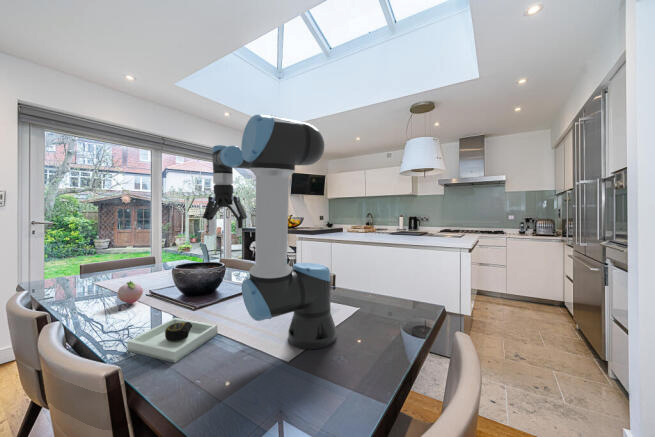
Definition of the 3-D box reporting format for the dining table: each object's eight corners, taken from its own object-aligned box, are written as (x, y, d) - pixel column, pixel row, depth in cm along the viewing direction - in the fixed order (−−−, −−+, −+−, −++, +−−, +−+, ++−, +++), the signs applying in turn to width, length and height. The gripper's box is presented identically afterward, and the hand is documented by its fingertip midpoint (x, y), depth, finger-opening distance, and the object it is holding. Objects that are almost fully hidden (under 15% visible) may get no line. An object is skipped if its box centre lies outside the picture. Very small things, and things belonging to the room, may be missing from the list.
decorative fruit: (114, 305, 110) (113, 281, 110) (137, 298, 117) (136, 276, 116) (123, 310, 105) (121, 285, 104) (146, 303, 112) (145, 280, 111)
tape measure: (187, 341, 79) (187, 329, 79) (162, 345, 77) (161, 333, 77) (192, 331, 86) (192, 320, 86) (169, 334, 84) (168, 322, 84)
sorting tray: (217, 334, 86) (217, 325, 85) (174, 362, 70) (174, 352, 70) (175, 326, 91) (175, 317, 91) (127, 351, 76) (127, 341, 76)
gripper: (254, 184, 108) (256, 235, 110) (206, 185, 116) (208, 233, 118) (243, 183, 101) (244, 237, 102) (192, 184, 109) (194, 235, 110)
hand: (225, 235), depth 110 cm, fingers open, 13 cm apart
